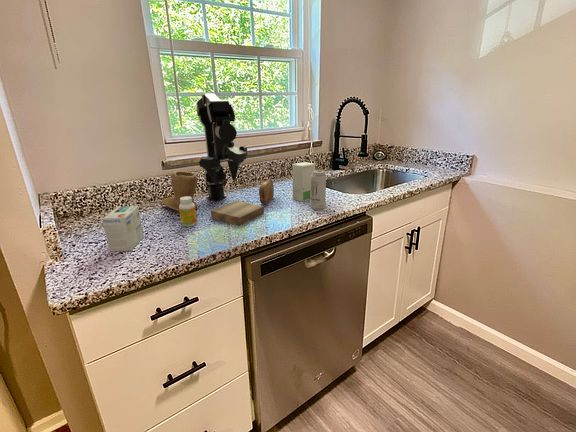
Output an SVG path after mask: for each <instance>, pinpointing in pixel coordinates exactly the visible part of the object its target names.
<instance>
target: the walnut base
mask: <svg viewBox="0 0 576 432" xmlns="http://www.w3.org/2000/svg"><path fill="white" fill-rule="evenodd" d="M264 209H265V206H264V205H259V204H255V203H249V202H244V201H240V200H233V201H231V202H228V203H226V204H224V205H221V206H218V207H216V208H214V209H212V210H210V215H211V216H210V217H211V219H213V220H218V221H220V222H224V223H229V224H233V225H236V226H240V227H241V226H243V225H244V224H247V223H248V222H250V221H252V220H254V219H256V218H258V217H260V216H262V215H264V214H265V211H264Z"/></svg>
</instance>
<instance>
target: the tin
mask: <svg viewBox="0 0 576 432" xmlns="http://www.w3.org/2000/svg"><path fill="white" fill-rule="evenodd" d="M274 194H275V191H274V183H273V180H265V181H263V182H262V183H261V185H260V186H259V189H258V196H259V202H260V203H259V204H261V205H269V204H270V203H271V201H272V200H273V198H274Z"/></svg>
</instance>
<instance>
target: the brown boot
mask: <svg viewBox="0 0 576 432" xmlns="http://www.w3.org/2000/svg"><path fill="white" fill-rule="evenodd" d="M170 179H171V188H172V192H173V196H170V197H165V198H164V199H162V200H161V204H162V205H163V206H166V207H167V208H169V209H172V210H174V211H177V212H179V205H180V204H181V203H180V198H181V197H186V196H189V197H192V203H194V204H195V209H197V208H198V203H196V202H195V200H194V197H195V196H194V195H195V192H196V189H197V184H198V177H197V174H196V173H194V172H191V171H182V170H181V171H180V170H176V171H174V172H172V173H171V177H170Z"/></svg>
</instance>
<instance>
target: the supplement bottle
mask: <svg viewBox="0 0 576 432" xmlns="http://www.w3.org/2000/svg"><path fill="white" fill-rule="evenodd" d="M180 203H181V204H180V205H179V211H178V212H179V216H180V218H179V219H180V224H181V226H183V227H192V226H195V225H196V224H197V223H198V221H197V212H196V211H197V210H196V208H195V204H194V203H192V197H189V196H186V197H181V198H180Z"/></svg>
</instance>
